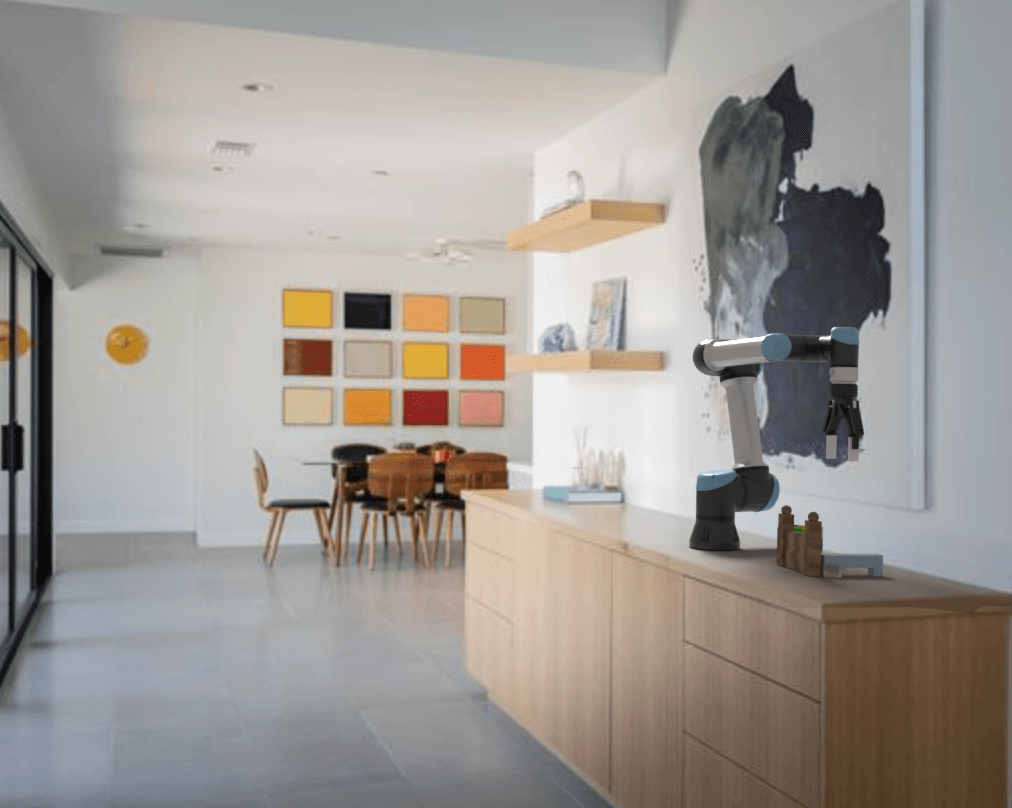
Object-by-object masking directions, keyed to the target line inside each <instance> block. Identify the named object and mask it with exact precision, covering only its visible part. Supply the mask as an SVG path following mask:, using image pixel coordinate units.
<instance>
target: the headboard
mask: <svg viewBox="0 0 1012 808" xmlns="http://www.w3.org/2000/svg"><path fill="white" fill-rule="evenodd" d="M780 510H781V511H780V512H781V513H780V512H779V513H778V514H777V515H778V516H777V518H778V519H777V525H778V526H777V527H778V557H777V556H776V564H777V566H779V565H780V566H779V567H785V566H786V568H788V569H791V570H794V571H796V572H799V573H802V574H803V575H805V576H806V577H821V539H822V527H823V525H822V524H823V521H822V520H819V519H820V515H819V513H818V512H816V511H810V512H809V513H808V515H807V519H806V520H804V525H805V533H801V532H798V531H794V525H795V514H793V513H792V511H793V510H792V507H791V506H790V505H783V506H782V507H781V509H780ZM842 573H843V572H842V571H840V568H839V566H838V565H823V576H822V578H825V579H827V578H830V579H833V578H835V579H838V578H842V577H843V575H842Z"/></svg>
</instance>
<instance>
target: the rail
mask: <svg viewBox="0 0 1012 808" xmlns="http://www.w3.org/2000/svg"><path fill="white" fill-rule="evenodd" d="M823 565H838V566H839V569H867V575H869V576H872V577H883V576H884V555H883V554H879V553H823V554H821V576H822V577H823ZM821 576H820V577H821Z"/></svg>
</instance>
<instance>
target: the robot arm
mask: <svg viewBox="0 0 1012 808" xmlns="http://www.w3.org/2000/svg"><path fill="white" fill-rule="evenodd" d="M859 345H860V333H859V329H858V328H856V327H853V326H834V327H832V328H831V330H830V335H814V334H813V335H812V334H811V335H810V334H793V333H792V334H790V333H789V334H788V333H781V332H779V333H778V332H775V333H769V334H766V335H763V336H758V337H751V338H749V337H748V338H742V339H740V338H739V339H729V338H728V339H727V338H726V339H724V338H723V339H721V338H707V339H704V340H702V341H699V343H698V344H697V345H696V346H695V347H694V350H693V352H692V361H693V364H694V367H695V368H696V370H698V371H699V372H700V373H701V374H704V375H706V376H710V377H718V378H719V384H720V386H721V387H723V388H724V389H725V394H726V402H727V410H728V418H729V426H730V434H731V435H730V436H731V445H732V451H733V453H732V454H733V460H734V464H733V466H732V468H729V469H728V468H724V469H723V468H721V469H711V470H705V471H702V472H700V473H699V474H698V475H697V477H696V485H695V491H696V492H695V493H696V494H695V522H694V526H693V529H692V531H691V534H690V536H689V541H688V542H689V543H688V544H689V547H690V548H692V549H697V550H705V551H736V550H737V551H738V550H740V549H741V539H740V536H739V533H738V529H737V525H736V513H749V512H750V513H751V512H754V513H759V512H766V511H768V510H771V509H772V508H773V507H775V505H776V503H777V501H778V499H779V497H780V489H781V488H780V487H781V486H780V482H779V479H778V478H777V476H776V475H775V474H773V473H771V472H770V467H769V465H768V464H767V463H766V462H765V461H764V459H763V457H764V456H763V451H762V442H761V436H760V435H761V433H760V427H759V419H758V411H757V402H756V396H755V387H754V386H755V384H756V383H757V382H758V381H759V380H758V376H759V375H761V373H762V371H763V367H764V364H765V363H777V362H801V363H802V362H805V363H811V364H813V363H814V364H817V363H827V362H828V363H829V362H830V363H829V371H828V374H829V381H830V382H832V383H829V394H828V395H829V397H830V398H834V400H832V399H829V400H828V404H827V409H826V410H827V411H826V415H825V418H824V423H823V427H822V433H823V434H825V436H826V446H825V449H826V450H825V459H832V460H833V459H834V460H835V459H837V447H838V445H837V444H838V443H837V440H838V438H837V437H838V433H837V430H838V428H839V426H840V424H841V420H842V419H844V422H845V424H846V428H847V431H848V433H849V434H848V435H847V437H848V446H847V447H848V448H847V450H848V451H847V461H848V462H859V461H860V460H859V458H860V456H859V455H860V438H861V437H862V436H864V435H865V431H864V426H863V421H862V416H861V412H860V402H859V400H853V398H858V394H859V393H858V390H859V386H858V383H857V382H859V357H860V356H859V355H860V354H859V353H860V352H859V350H860V349H859V347H860V346H859Z"/></svg>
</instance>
